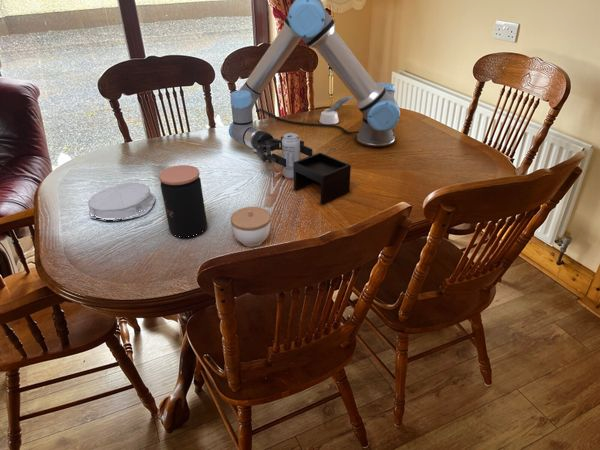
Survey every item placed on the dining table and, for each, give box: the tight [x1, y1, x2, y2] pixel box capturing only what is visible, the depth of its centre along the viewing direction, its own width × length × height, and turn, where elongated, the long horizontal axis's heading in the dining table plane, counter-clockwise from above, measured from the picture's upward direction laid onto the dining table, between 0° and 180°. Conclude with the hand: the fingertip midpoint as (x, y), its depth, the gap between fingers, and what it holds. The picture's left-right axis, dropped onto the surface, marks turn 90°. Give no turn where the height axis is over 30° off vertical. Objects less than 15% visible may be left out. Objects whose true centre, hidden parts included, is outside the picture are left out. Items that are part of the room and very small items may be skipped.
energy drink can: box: [281, 132, 301, 180], centre depth 154 cm, size 6×6×15 cm
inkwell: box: [318, 95, 355, 125], centre depth 205 cm, size 9×18×10 cm, turn 121°
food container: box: [87, 182, 156, 221], centre depth 140 cm, size 20×20×7 cm
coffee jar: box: [158, 164, 208, 240], centre depth 125 cm, size 11×11×18 cm
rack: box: [293, 152, 352, 206], centre depth 146 cm, size 14×12×10 cm
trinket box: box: [230, 206, 272, 248], centre depth 122 cm, size 11×11×9 cm
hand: (298, 158), depth 151 cm, fingers open, 11 cm apart
